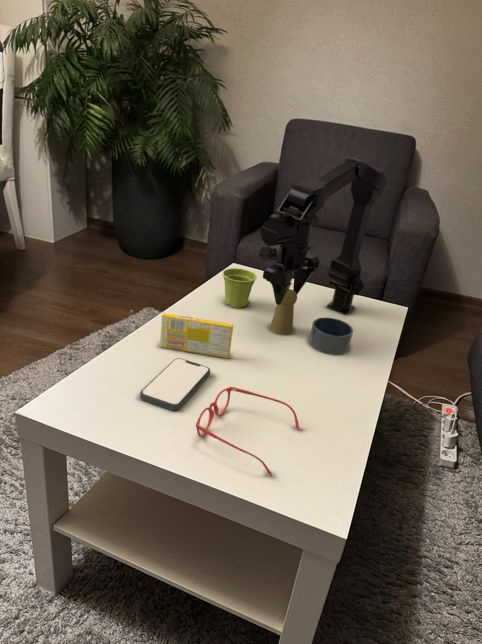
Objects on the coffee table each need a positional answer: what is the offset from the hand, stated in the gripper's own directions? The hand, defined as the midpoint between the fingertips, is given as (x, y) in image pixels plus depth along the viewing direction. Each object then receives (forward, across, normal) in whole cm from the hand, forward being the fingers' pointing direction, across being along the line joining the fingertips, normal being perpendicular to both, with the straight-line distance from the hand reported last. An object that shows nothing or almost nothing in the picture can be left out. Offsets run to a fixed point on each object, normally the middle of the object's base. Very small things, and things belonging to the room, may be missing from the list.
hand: (286, 299), depth 136 cm
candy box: (+9, +25, -9) cm, 28 cm away
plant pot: (+9, -4, -17) cm, 20 cm away
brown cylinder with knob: (+9, 0, 0) cm, 9 cm away
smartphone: (+9, +39, -3) cm, 40 cm away
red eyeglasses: (+9, +43, +17) cm, 47 cm away
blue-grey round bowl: (+9, -2, +13) cm, 16 cm away
